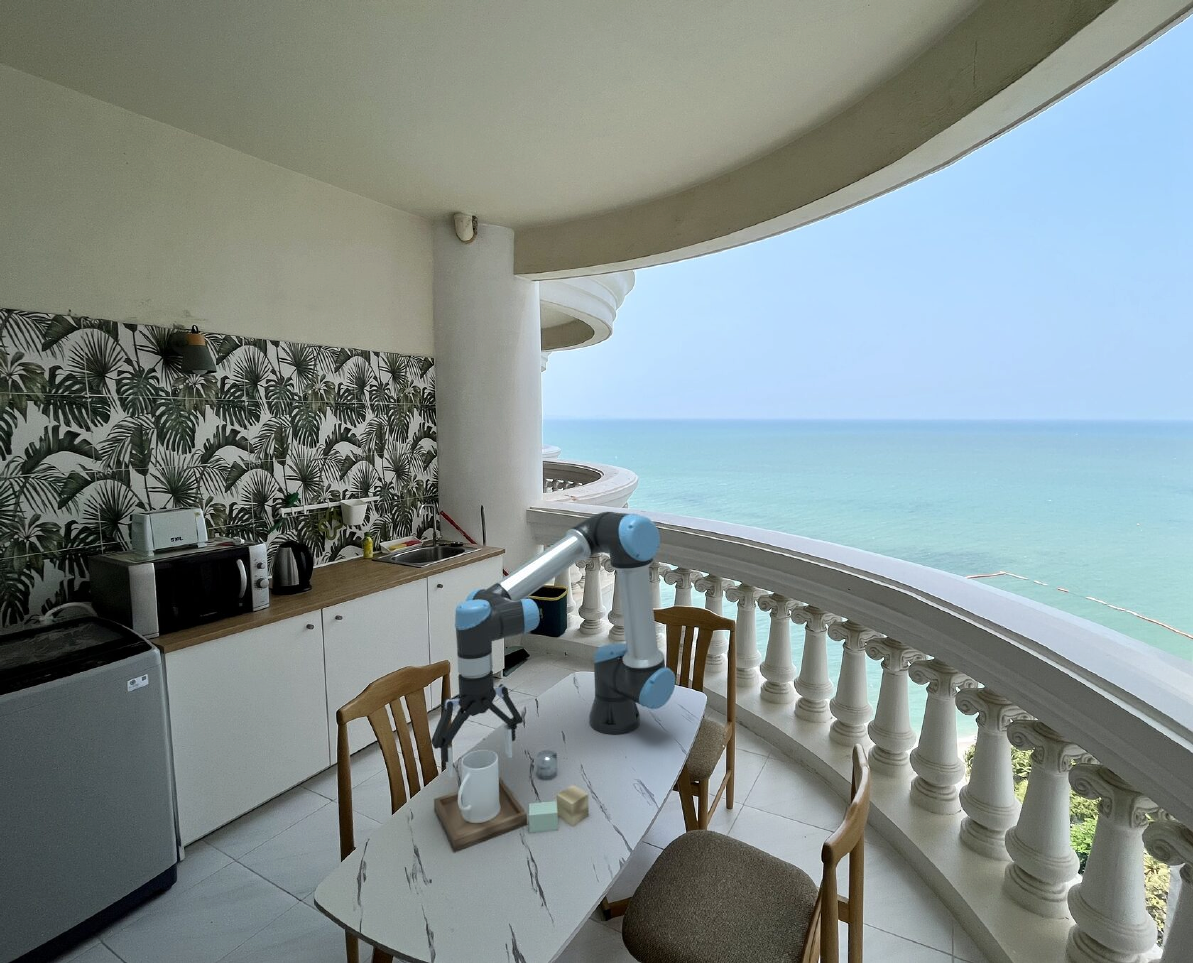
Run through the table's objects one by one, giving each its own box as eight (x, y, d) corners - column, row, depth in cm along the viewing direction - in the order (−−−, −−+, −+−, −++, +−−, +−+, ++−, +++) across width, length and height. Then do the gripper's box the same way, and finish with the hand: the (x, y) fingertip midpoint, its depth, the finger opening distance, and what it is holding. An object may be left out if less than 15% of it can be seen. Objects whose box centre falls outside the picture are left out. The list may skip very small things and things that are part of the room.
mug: (472, 837, 116) (470, 782, 115) (442, 824, 120) (440, 770, 120) (508, 806, 126) (507, 754, 126) (479, 795, 131) (478, 745, 130)
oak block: (573, 805, 128) (572, 784, 128) (588, 815, 124) (588, 793, 124) (557, 816, 124) (556, 794, 124) (572, 826, 121) (572, 804, 121)
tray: (500, 787, 135) (500, 777, 135) (527, 824, 121) (526, 813, 121) (434, 809, 127) (434, 799, 127) (454, 852, 113) (454, 840, 113)
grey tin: (551, 766, 144) (551, 748, 144) (560, 776, 140) (560, 757, 139) (534, 772, 141) (533, 753, 141) (542, 782, 137) (542, 762, 137)
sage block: (556, 818, 124) (556, 801, 123) (557, 830, 120) (557, 812, 119) (529, 821, 123) (529, 803, 123) (529, 833, 119) (529, 815, 119)
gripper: (521, 654, 132) (525, 740, 133) (413, 679, 120) (419, 774, 121) (534, 664, 126) (538, 755, 127) (422, 692, 113) (427, 792, 114)
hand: (480, 764), depth 124 cm, fingers open, 13 cm apart
